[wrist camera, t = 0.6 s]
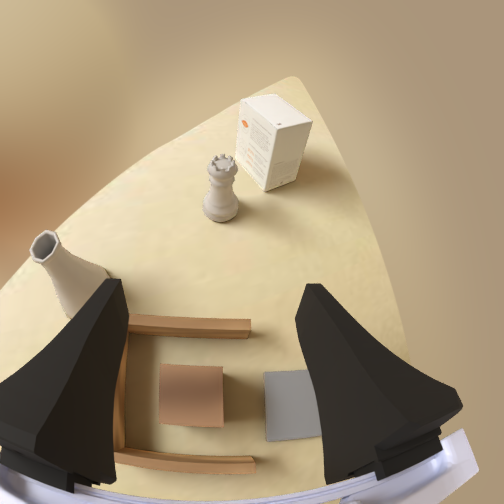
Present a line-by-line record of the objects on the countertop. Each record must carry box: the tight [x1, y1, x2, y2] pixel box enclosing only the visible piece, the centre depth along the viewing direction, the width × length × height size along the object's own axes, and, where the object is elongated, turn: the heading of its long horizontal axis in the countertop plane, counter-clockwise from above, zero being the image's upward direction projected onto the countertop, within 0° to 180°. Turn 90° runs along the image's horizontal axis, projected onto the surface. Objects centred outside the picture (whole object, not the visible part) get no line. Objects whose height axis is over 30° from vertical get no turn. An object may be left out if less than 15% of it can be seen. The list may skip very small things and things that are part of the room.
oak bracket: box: [113, 314, 256, 474], centre depth 22 cm, size 14×13×4 cm
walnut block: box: [159, 364, 224, 427], centre depth 21 cm, size 5×5×5 cm
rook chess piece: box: [203, 154, 238, 222], centre depth 31 cm, size 4×4×8 cm
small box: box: [235, 94, 313, 192], centre depth 35 cm, size 8×6×10 cm
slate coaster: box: [264, 370, 322, 442], centre depth 24 cm, size 7×7×1 cm
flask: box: [30, 230, 110, 319], centre depth 23 cm, size 7×7×10 cm
